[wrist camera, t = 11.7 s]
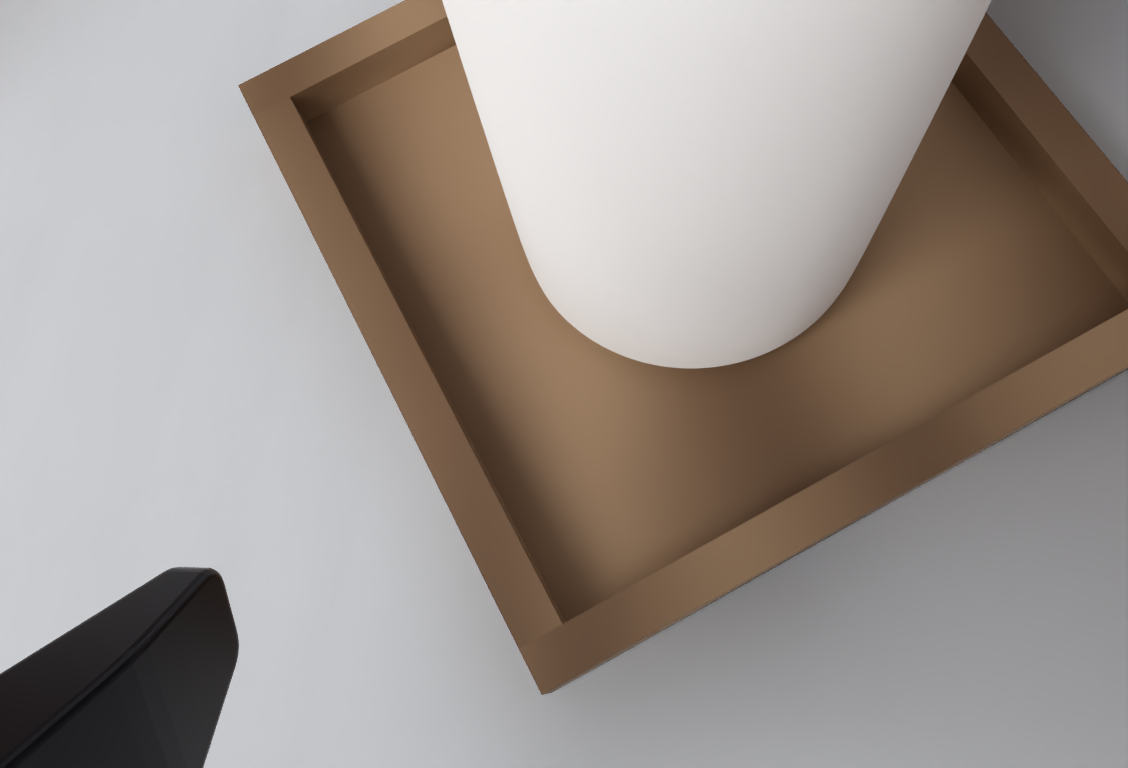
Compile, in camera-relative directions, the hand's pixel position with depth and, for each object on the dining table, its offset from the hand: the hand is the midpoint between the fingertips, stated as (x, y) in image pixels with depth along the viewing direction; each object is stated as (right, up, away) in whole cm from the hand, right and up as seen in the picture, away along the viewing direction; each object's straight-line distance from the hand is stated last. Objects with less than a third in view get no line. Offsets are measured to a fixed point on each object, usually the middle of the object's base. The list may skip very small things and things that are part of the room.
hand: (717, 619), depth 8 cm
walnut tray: (+1, +5, +10) cm, 12 cm away
